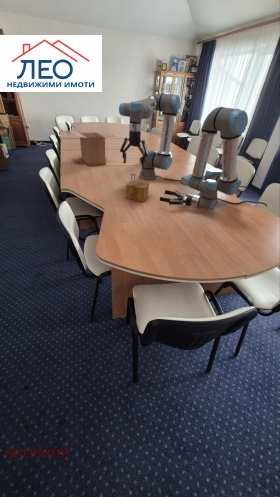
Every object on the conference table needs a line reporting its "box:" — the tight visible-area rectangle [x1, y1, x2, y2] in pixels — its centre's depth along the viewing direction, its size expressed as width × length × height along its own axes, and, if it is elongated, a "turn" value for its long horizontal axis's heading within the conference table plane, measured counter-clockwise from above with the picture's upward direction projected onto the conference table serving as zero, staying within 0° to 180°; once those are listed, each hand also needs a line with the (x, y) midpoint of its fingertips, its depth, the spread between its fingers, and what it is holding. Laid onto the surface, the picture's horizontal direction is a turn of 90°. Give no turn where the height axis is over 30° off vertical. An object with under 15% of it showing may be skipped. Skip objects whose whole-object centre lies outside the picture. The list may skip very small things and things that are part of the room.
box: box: [70, 129, 114, 166], centre depth 229 cm, size 44×36×27 cm
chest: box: [126, 184, 150, 203], centre depth 164 cm, size 14×10×9 cm
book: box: [179, 173, 205, 186], centre depth 200 cm, size 23×16×5 cm
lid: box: [125, 171, 150, 189], centre depth 159 cm, size 14×10×9 cm
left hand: (133, 164), depth 154 cm, fingers open, 13 cm apart
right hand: (162, 195), depth 157 cm, fingers open, 13 cm apart
